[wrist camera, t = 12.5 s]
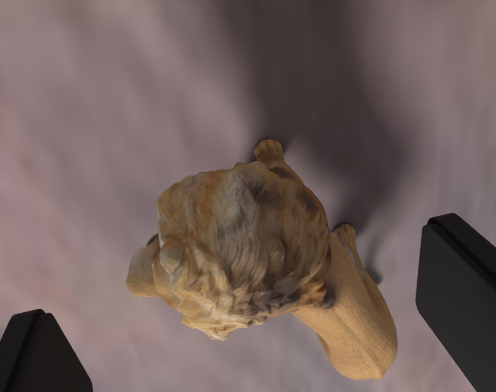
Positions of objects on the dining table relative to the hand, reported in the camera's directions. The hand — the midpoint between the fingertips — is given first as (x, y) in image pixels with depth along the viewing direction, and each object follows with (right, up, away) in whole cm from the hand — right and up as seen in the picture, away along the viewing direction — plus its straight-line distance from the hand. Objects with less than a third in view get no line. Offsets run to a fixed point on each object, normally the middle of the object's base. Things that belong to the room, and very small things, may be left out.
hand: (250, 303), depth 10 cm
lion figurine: (+1, +2, +9) cm, 9 cm away
